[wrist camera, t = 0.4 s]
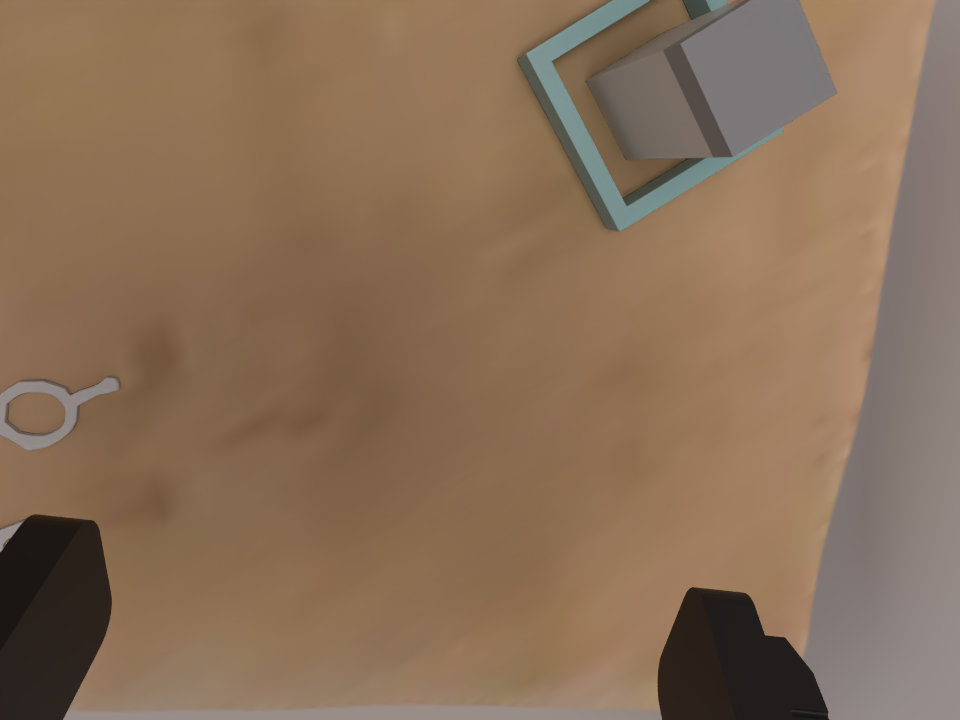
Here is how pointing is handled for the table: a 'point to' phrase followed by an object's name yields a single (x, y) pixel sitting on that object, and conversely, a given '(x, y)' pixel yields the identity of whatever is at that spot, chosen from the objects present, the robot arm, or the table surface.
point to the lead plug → (714, 82)
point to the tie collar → (578, 141)
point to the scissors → (44, 440)
